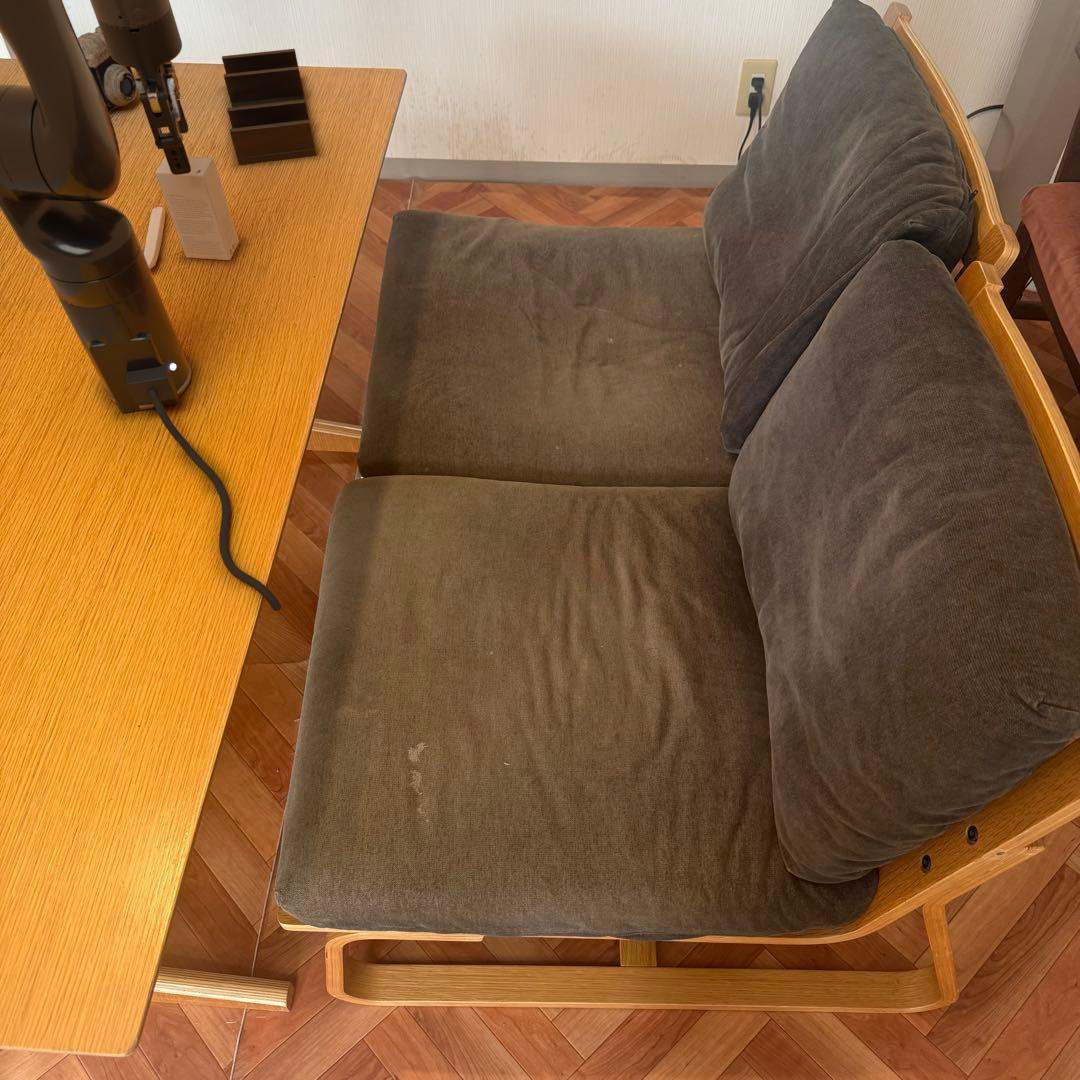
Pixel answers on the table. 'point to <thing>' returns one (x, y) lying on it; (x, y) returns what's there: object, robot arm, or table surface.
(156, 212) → the pen
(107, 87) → the camera
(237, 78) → the rack
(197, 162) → the cosmetic box
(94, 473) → the table surface
